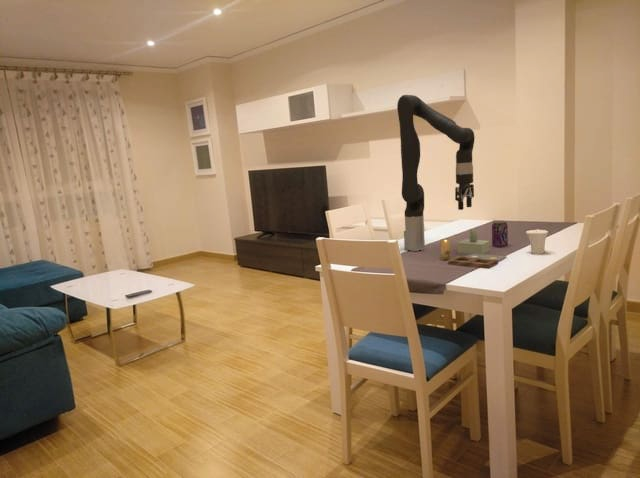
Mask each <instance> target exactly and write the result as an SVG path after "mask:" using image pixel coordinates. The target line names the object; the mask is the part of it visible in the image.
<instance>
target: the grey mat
mask: <svg viewBox="0 0 640 478" xmlns="http://www.w3.org/2000/svg"><path fill="white" fill-rule="evenodd" d="M464 257H471V258H482V259H493V260H498V263H499V262H501V261H503V260H505V259H507V257H508V256H505V255H493V254H486V253H485V254H474V253H472V254H468V255H465V256H464Z"/></svg>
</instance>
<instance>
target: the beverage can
mask: <svg viewBox="0 0 640 478" xmlns="http://www.w3.org/2000/svg"><path fill="white" fill-rule="evenodd" d="M508 229H509V227H508V224H507V221H505V220H497V221H495V220H494V221H492V224H491V246H493V247H496V248H505V247H507V246H508V245H509V242H508V241H509V239H508V238H509V237H508V234H509V233H508Z"/></svg>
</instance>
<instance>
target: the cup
mask: <svg viewBox="0 0 640 478" xmlns="http://www.w3.org/2000/svg"><path fill="white" fill-rule="evenodd" d="M525 233H526V235H527V237H528V240H529V243H530V253H531V254H533V255H544V254H545V253H546V250H545V247H546V240H547V237H548V236H547V235H548V234H549V231H548V230H545V229H538V228H537V229H532V230H526V232H525Z"/></svg>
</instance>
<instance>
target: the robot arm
mask: <svg viewBox="0 0 640 478" xmlns="http://www.w3.org/2000/svg"><path fill="white" fill-rule="evenodd" d="M396 105H397V106H396V107H397V114H398V115H397V116H398V122H399V136H400V137H399V138H400V158H401V171H402V176H401V177H402V180H401V181H402V182H401V197H402V199H403V201H404V202H405V203H406V204H405V205H406V207H405V209H404V226H405V227H404V228H405V229H404V231H403V241H404V244H403V245H404V246H403V247H404V250H405V249H406V250H405V251H408V250H410V251H409V252H420V251H419V250H421V251H424V250H425V249H426V246H425V245H426V243H425V240H426V239H425V223H424V222H425V220H424V211H425V191H424V188H423V185H421V184H419V183H418V181H419V180H418V169H419V166H420V160H421V143H420V139H419V136H418V133H417V131H416V129H415V125H414V116H415V117H418V118H421V119H423V120H424V121H425V122H427V123H428V124H429V125H430V126H431V127H433V128H434V129H435V130H437V131H438V132H440V133H441V134H442V135H445V136H446V137H448V138H449V140H451V141H453V142H454V143H456V144H457V145H459V147H458V150H457V151H456V154H455V183H456V184H457V185H458V186H456V187H455V189H454V191H455V192H454V193H455V195H454V196H455V197H454V199H455V201H457V209H458V210H459V211H463V210H464V200H465V198H466V200H465V204H466V208H472V206H473V205H472V201H473V200H472V199H473V198H474V197H475V189H474V188H475V187H474V184H473V183H474V166H473V149H474V146H475V145H474V144H475V133H474V130H473V129H471V128H470V127H462V126H459V125H458V124H457V123H456V121H454V120H453V119H451V118H450V117H448V116H446V115H444V114H442V113H440V112H439V111H437V110H435V109H433V108H432V107H430V106H429V105H428V104H427V103H426V102H424V100H422V99H421V98H419V97H418V96H417V95H412V94H404V95H401V96H400V97H399V99H398V100H397V104H396Z"/></svg>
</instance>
